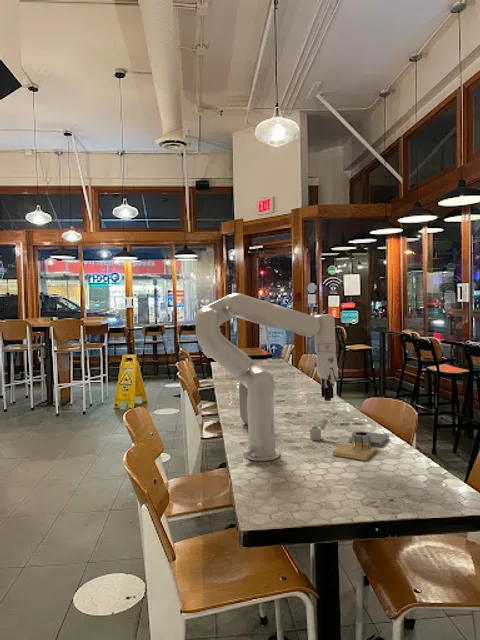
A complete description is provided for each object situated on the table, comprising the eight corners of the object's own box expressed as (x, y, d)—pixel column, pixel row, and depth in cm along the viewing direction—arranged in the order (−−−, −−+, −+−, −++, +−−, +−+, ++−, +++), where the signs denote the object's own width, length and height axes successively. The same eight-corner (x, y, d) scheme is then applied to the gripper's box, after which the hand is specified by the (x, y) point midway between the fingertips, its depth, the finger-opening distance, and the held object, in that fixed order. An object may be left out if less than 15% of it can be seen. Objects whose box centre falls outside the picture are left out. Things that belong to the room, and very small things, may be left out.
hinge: (365, 461, 152) (365, 446, 151) (332, 455, 158) (332, 441, 158) (389, 438, 174) (388, 426, 174) (359, 434, 181) (358, 422, 181)
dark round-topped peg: (329, 401, 163) (328, 377, 162) (322, 400, 164) (321, 377, 164) (333, 399, 165) (332, 376, 165) (325, 398, 167) (324, 375, 167)
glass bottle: (261, 427, 197) (258, 364, 196) (238, 426, 199) (235, 364, 198) (264, 421, 207) (262, 361, 206) (242, 420, 209) (240, 361, 208)
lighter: (310, 439, 177) (309, 419, 177) (310, 438, 179) (309, 418, 178) (328, 439, 177) (327, 419, 176) (327, 437, 178) (327, 418, 178)
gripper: (343, 349, 157) (346, 401, 158) (326, 345, 173) (328, 392, 173) (323, 350, 155) (326, 403, 156) (308, 346, 171) (310, 394, 172)
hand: (327, 397), depth 165 cm, fingers closed on dark round-topped peg, 2 cm apart
